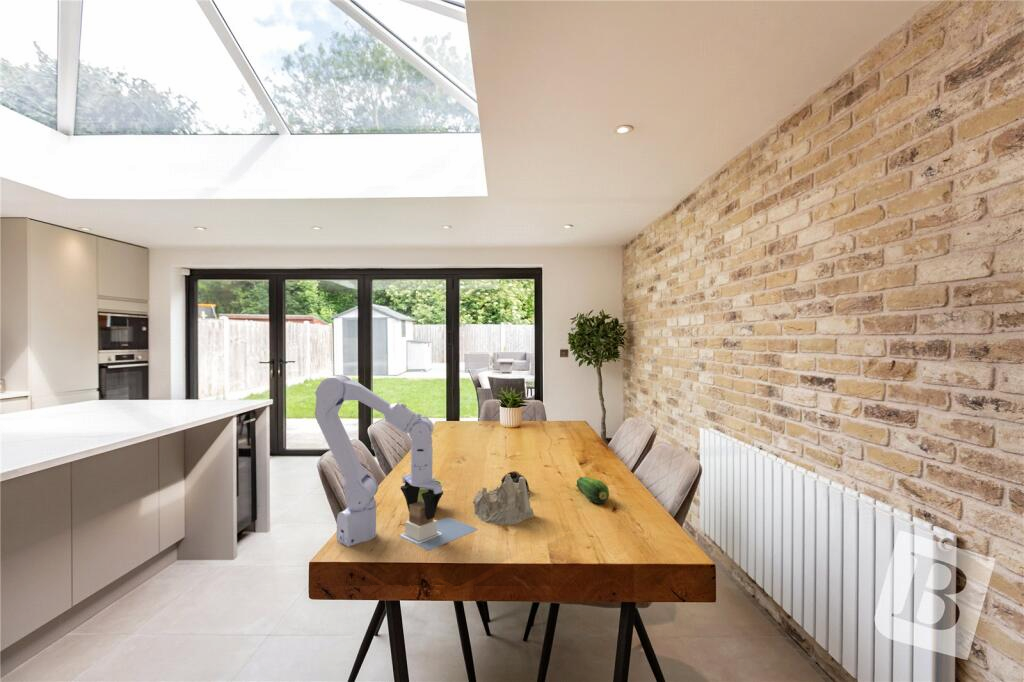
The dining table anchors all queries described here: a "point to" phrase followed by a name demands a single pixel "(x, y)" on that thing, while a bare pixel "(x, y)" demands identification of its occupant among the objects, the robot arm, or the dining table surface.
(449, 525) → the board
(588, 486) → the vegetable
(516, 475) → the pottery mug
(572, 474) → the dining table surface
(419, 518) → the walnut block
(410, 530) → the cream base block
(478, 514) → the jagged grey rock
